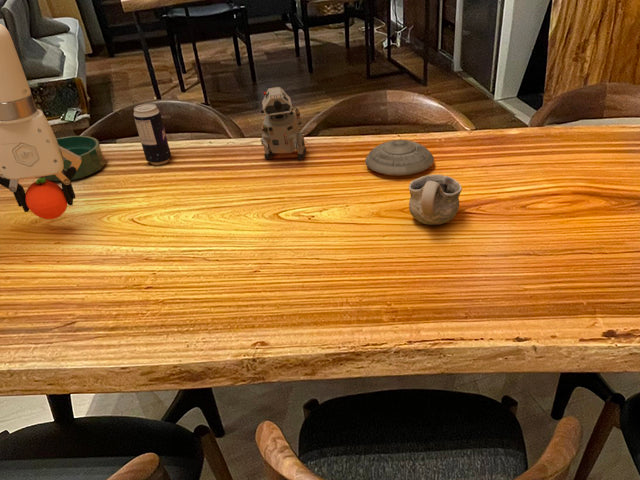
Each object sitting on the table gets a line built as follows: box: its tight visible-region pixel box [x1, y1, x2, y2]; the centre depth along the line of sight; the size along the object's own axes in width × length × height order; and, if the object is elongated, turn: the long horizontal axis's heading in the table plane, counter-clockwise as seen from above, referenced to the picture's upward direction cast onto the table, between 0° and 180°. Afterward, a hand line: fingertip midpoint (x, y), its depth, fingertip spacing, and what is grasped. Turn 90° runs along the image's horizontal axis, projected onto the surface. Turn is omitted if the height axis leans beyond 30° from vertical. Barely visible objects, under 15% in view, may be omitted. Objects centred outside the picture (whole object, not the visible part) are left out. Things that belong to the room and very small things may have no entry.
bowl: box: [40, 135, 106, 182], centre depth 139 cm, size 14×14×5 cm
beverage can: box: [133, 103, 172, 166], centre depth 139 cm, size 6×6×12 cm
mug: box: [408, 174, 463, 226], centre depth 113 cm, size 10×12×10 cm
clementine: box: [25, 178, 68, 220], centre depth 115 cm, size 8×7×7 cm
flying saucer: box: [364, 139, 435, 177], centre depth 135 cm, size 15×15×6 cm
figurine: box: [259, 86, 307, 161], centre depth 136 cm, size 9×12×15 cm
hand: (49, 204), depth 116 cm, fingers closed on clementine, 7 cm apart
